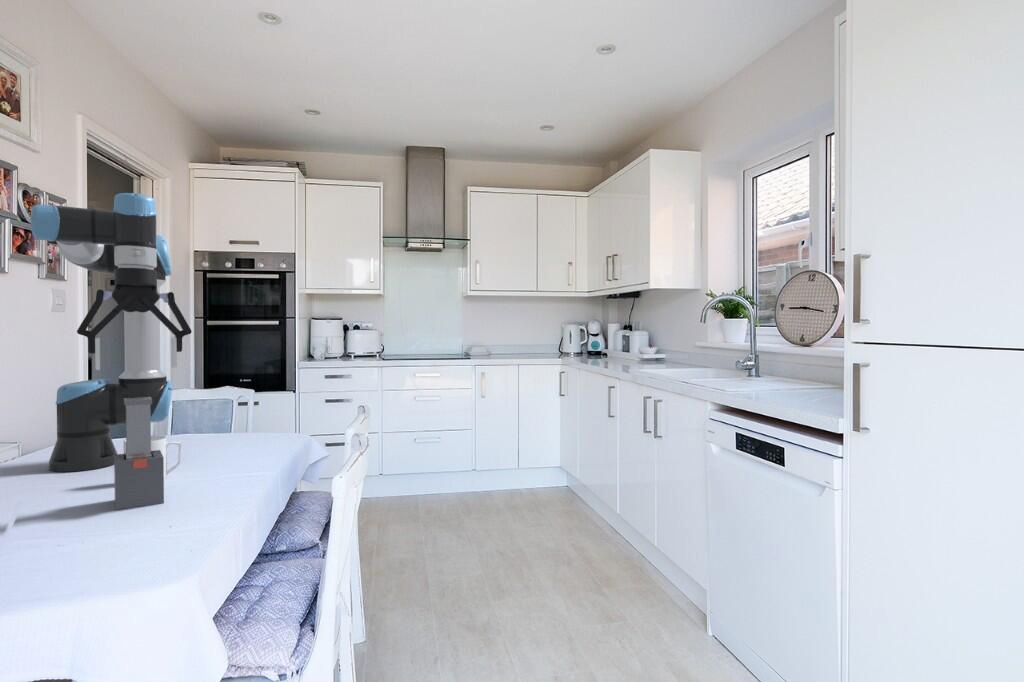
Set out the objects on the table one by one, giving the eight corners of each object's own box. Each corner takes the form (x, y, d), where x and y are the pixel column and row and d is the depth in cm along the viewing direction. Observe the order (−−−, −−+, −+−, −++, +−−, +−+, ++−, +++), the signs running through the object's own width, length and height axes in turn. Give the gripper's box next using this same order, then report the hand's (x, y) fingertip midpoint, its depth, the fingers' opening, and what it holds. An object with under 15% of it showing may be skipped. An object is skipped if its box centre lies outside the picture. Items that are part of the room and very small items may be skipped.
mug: (121, 490, 134) (121, 443, 134) (126, 481, 142) (126, 437, 142) (180, 484, 140) (180, 439, 140) (182, 476, 148) (182, 433, 148)
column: (125, 500, 123) (123, 398, 123) (151, 496, 126) (150, 396, 125) (126, 506, 119) (124, 400, 119) (153, 502, 122) (152, 399, 121)
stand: (92, 506, 123) (92, 454, 123) (178, 494, 132) (178, 445, 132) (92, 522, 113) (91, 465, 113) (185, 507, 123) (185, 455, 122)
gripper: (60, 262, 112) (61, 371, 112) (204, 270, 126) (205, 367, 127) (62, 266, 118) (63, 369, 118) (199, 273, 132) (200, 365, 133)
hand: (137, 368), depth 122 cm, fingers open, 13 cm apart
